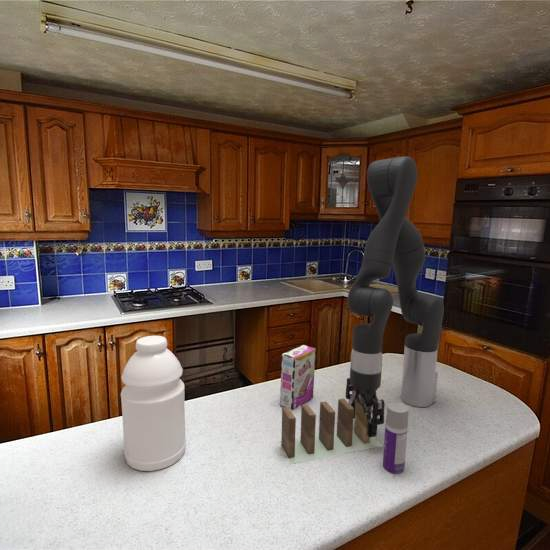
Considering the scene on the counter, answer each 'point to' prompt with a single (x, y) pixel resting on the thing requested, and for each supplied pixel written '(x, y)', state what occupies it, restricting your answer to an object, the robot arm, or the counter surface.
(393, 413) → the container
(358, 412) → the domino
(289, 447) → the domino
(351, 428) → the domino
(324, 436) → the domino
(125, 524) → the counter surface
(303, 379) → the candy bar box
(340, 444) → the mat
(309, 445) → the domino
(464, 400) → the counter surface
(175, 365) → the bottle
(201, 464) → the counter surface
